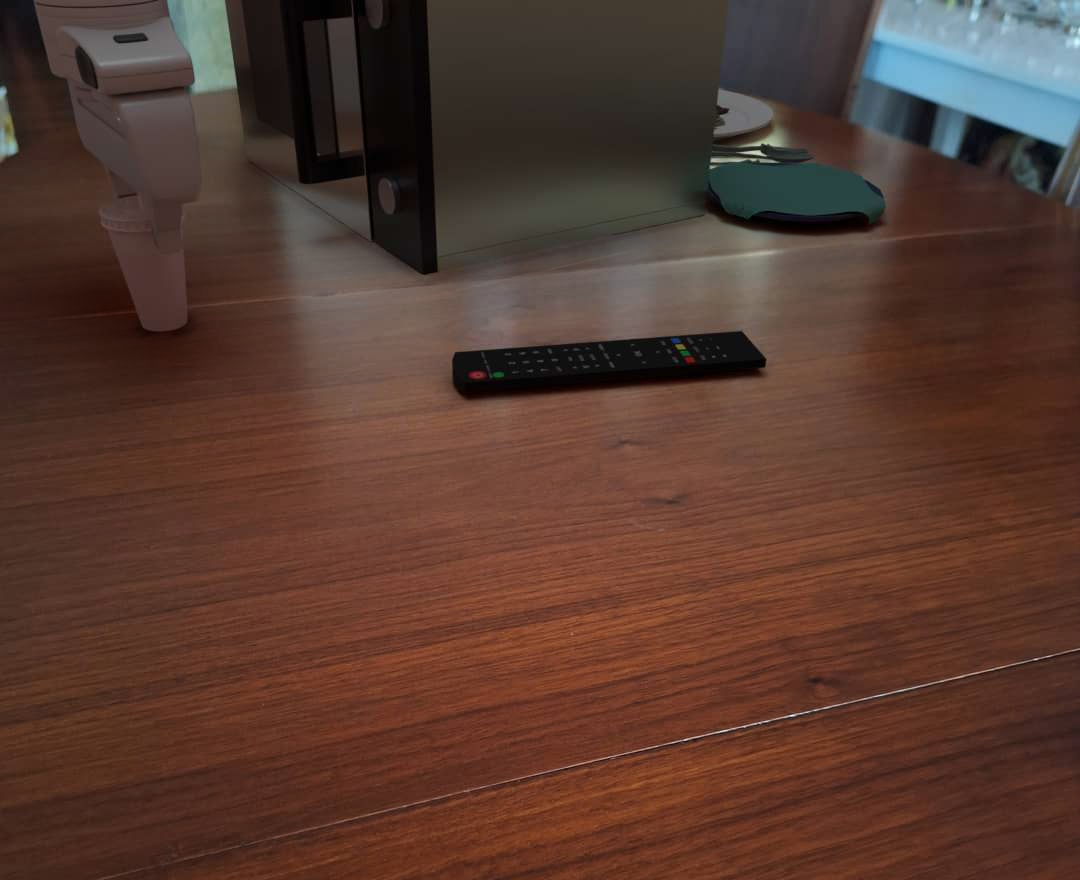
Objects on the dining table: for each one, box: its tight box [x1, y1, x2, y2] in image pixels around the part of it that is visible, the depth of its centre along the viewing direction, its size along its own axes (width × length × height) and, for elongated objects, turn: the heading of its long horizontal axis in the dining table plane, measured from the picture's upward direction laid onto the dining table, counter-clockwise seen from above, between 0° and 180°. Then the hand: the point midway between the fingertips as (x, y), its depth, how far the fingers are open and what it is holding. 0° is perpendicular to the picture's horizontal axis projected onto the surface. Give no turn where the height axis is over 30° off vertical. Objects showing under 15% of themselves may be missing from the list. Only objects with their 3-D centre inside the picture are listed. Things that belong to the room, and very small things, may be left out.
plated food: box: [713, 89, 775, 141], centre depth 144 cm, size 30×30×3 cm
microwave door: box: [224, 0, 375, 242], centre depth 105 cm, size 7×34×28 cm, turn 34°
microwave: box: [356, 0, 729, 274], centre depth 111 cm, size 35×44×28 cm
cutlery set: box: [707, 142, 887, 226], centre depth 119 cm, size 20×30×2 cm, turn 1°
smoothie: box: [98, 193, 189, 332], centre depth 83 cm, size 6×6×14 cm
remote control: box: [451, 330, 767, 393], centre depth 80 cm, size 5×24×1 cm, turn 102°
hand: (151, 233), depth 83 cm, fingers open, 8 cm apart
